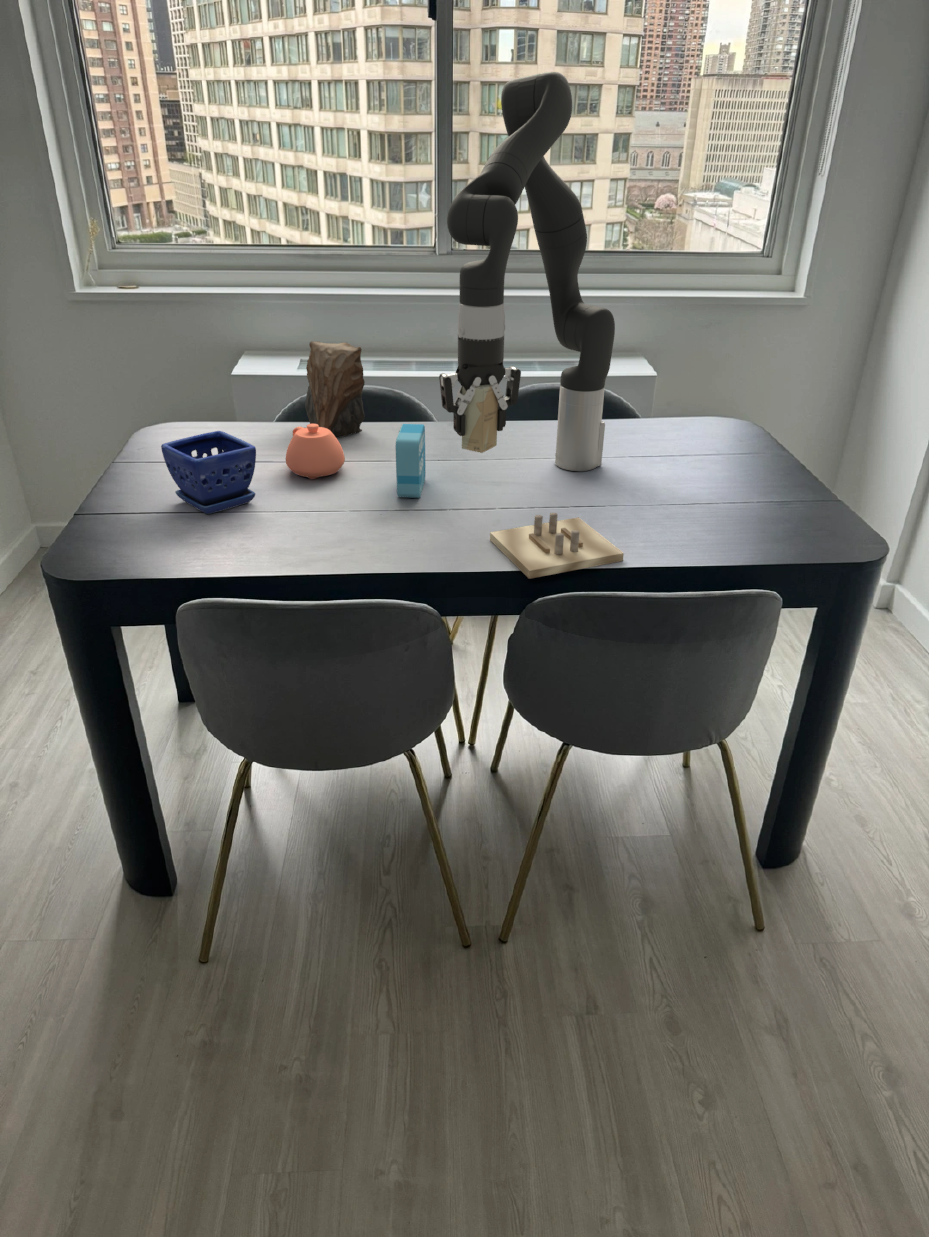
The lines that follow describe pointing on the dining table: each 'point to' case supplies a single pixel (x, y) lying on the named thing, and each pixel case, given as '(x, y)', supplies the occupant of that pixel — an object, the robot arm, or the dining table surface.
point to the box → (481, 420)
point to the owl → (335, 387)
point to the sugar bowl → (314, 452)
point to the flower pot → (211, 470)
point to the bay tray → (555, 546)
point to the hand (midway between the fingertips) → (479, 432)
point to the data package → (410, 460)
